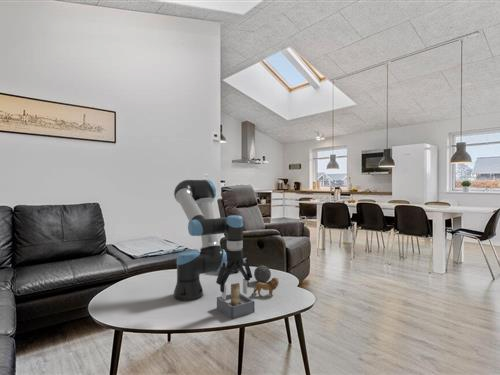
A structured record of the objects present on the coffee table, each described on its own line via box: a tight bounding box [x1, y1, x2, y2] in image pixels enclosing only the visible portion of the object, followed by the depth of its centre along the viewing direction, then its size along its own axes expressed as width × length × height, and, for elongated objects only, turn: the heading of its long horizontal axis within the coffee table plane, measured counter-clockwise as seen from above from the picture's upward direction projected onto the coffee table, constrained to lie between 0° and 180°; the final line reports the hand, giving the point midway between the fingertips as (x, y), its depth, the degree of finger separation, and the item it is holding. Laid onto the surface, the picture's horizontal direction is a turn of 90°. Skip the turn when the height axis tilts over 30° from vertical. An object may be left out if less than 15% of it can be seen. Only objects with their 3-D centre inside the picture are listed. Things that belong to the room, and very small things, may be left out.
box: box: [216, 292, 256, 320], centre depth 137 cm, size 14×12×5 cm
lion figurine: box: [251, 277, 279, 297], centre depth 155 cm, size 15×5×9 cm, turn 98°
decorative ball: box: [253, 265, 272, 283], centre depth 176 cm, size 10×10×10 cm
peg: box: [230, 282, 241, 306], centre depth 137 cm, size 4×4×12 cm
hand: (234, 296), depth 137 cm, fingers open, 11 cm apart
